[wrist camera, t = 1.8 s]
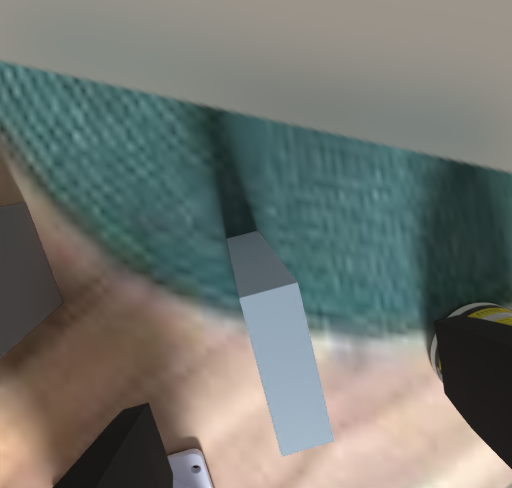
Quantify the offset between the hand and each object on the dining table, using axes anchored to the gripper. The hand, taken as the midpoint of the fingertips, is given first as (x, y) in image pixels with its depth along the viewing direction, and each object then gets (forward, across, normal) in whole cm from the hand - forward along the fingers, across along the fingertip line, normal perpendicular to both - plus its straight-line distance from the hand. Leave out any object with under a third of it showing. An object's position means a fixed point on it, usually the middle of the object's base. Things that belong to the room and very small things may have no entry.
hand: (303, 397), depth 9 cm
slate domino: (+10, 0, 0) cm, 10 cm away
